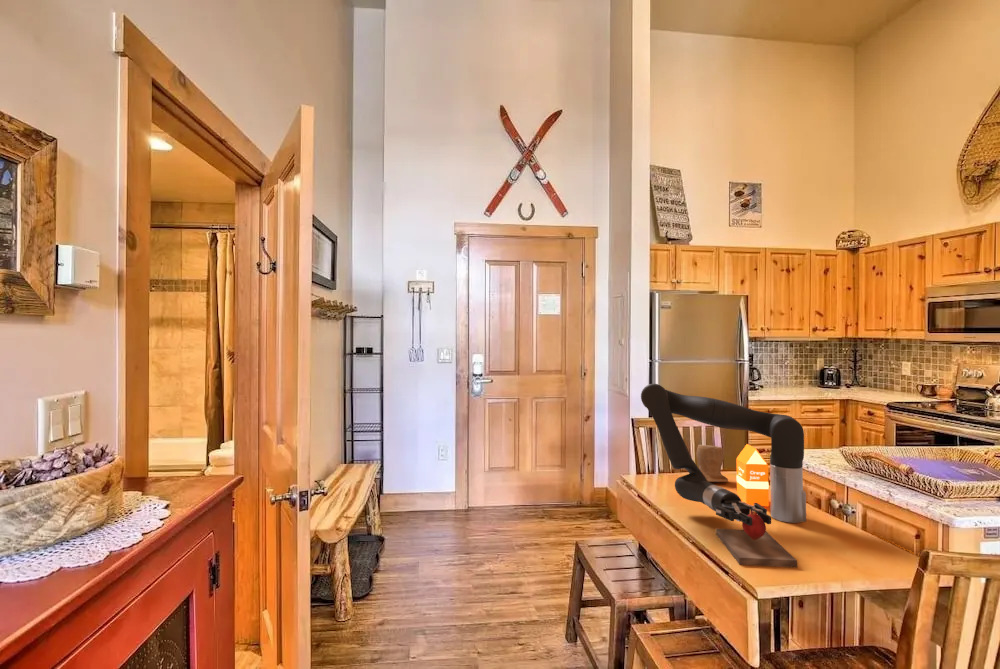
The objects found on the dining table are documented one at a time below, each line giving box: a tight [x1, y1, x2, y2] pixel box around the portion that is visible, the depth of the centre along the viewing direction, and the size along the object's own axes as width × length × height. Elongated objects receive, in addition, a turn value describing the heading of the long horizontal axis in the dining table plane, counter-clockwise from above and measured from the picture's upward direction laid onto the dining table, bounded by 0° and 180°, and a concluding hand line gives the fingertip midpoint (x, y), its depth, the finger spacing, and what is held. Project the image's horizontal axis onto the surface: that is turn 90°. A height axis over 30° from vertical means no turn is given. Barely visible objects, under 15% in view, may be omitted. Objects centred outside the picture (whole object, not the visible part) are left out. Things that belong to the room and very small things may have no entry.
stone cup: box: [696, 444, 729, 483], centre depth 204 cm, size 15×12×15 cm
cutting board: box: [715, 528, 798, 568], centre depth 136 cm, size 14×20×2 cm
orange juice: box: [735, 443, 770, 507], centre depth 177 cm, size 8×9×20 cm
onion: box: [741, 511, 767, 540], centre depth 135 cm, size 6×6×8 cm
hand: (760, 521), depth 133 cm, fingers closed on onion, 5 cm apart
